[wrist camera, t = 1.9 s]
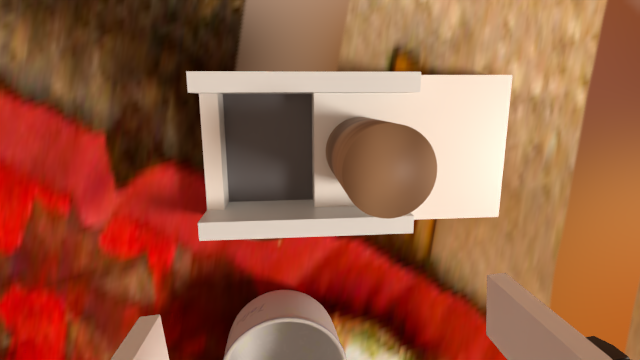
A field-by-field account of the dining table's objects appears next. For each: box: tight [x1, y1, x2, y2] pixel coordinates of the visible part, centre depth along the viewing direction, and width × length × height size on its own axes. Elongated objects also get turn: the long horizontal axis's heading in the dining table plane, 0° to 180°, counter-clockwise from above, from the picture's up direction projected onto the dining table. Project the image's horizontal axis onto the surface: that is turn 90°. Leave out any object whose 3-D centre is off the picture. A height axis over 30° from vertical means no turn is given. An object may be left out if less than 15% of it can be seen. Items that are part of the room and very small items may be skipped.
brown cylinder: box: [326, 117, 437, 219], centre depth 28 cm, size 6×6×10 cm
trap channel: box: [186, 71, 512, 241], centre depth 32 cm, size 27×13×6 cm, turn 90°
